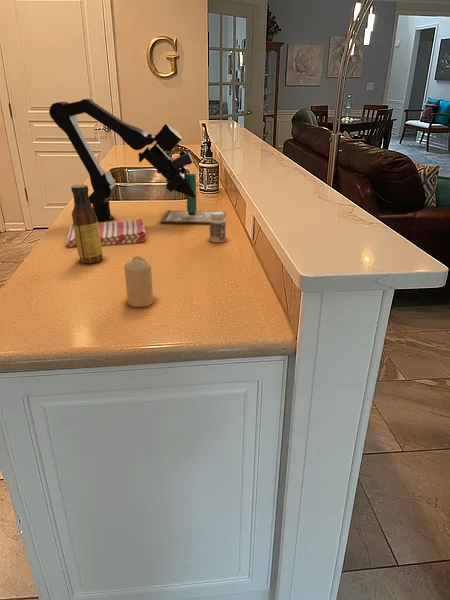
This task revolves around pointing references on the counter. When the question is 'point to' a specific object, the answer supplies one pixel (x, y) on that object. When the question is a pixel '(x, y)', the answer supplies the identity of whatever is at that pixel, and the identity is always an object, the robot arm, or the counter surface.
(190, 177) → the dot marker
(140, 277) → the candle
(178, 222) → the gray flat panel
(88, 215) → the sauce bottle
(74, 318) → the counter surface
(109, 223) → the dish towel
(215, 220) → the pill bottle
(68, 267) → the counter surface
